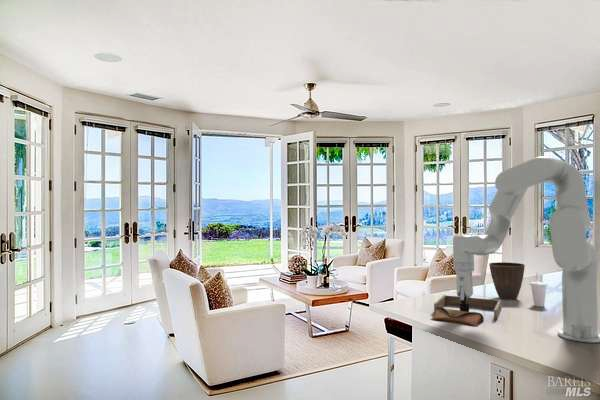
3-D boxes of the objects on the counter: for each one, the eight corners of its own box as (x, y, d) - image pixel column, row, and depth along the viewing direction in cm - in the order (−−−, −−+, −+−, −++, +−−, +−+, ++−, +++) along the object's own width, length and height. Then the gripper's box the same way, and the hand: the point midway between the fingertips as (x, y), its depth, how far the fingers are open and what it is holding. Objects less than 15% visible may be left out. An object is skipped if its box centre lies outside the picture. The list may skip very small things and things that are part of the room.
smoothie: (532, 303, 187) (531, 271, 187) (549, 305, 183) (548, 272, 183) (529, 306, 182) (528, 273, 182) (546, 308, 178) (545, 274, 178)
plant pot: (493, 301, 192) (492, 265, 192) (487, 294, 206) (486, 261, 207) (529, 302, 188) (528, 266, 189) (520, 295, 203) (519, 262, 203)
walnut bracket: (497, 320, 159) (496, 309, 159) (434, 313, 170) (434, 303, 170) (501, 309, 175) (501, 300, 175) (443, 304, 187) (443, 295, 187)
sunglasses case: (428, 319, 161) (431, 302, 164) (433, 325, 166) (436, 309, 168) (478, 327, 150) (480, 308, 153) (482, 333, 155) (484, 315, 158)
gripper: (471, 269, 157) (472, 319, 156) (476, 264, 170) (477, 310, 170) (450, 268, 161) (451, 317, 160) (456, 263, 174) (457, 308, 173)
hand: (464, 313), depth 165 cm, fingers closed
